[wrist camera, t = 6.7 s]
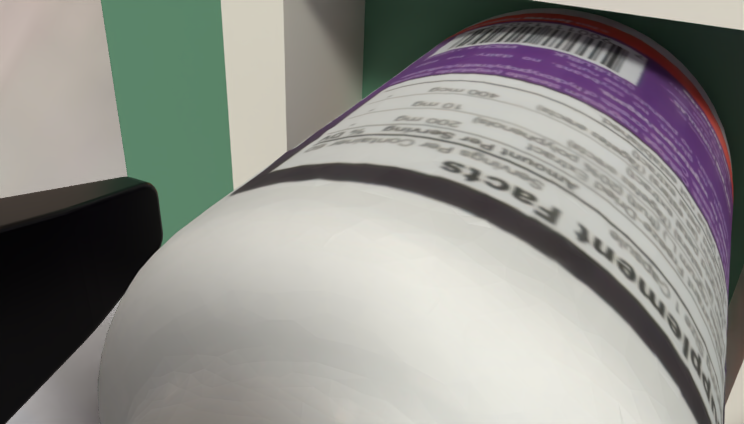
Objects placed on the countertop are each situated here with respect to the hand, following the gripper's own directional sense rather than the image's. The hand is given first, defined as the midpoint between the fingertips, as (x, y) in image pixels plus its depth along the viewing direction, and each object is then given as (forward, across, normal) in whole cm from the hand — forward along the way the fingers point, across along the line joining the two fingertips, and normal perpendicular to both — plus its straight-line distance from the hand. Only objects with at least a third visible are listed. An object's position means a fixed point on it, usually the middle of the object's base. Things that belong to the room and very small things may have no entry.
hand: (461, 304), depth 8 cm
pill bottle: (+4, 0, 0) cm, 4 cm away
